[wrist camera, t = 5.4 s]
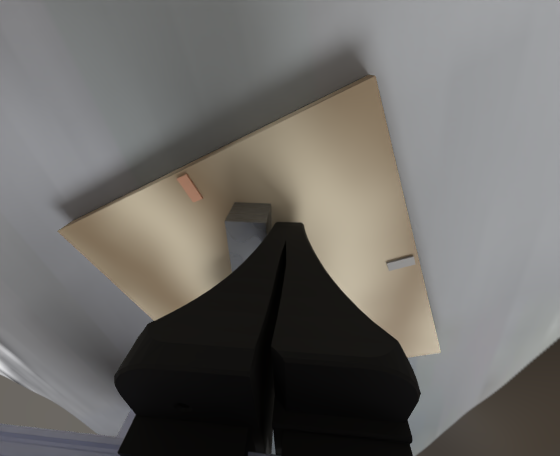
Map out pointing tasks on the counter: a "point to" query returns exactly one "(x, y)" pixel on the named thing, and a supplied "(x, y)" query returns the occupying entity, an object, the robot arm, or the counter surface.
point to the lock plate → (276, 216)
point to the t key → (246, 229)
